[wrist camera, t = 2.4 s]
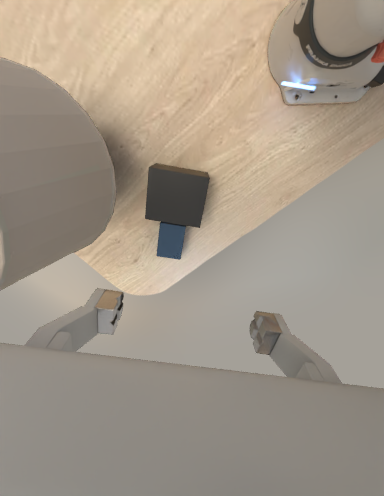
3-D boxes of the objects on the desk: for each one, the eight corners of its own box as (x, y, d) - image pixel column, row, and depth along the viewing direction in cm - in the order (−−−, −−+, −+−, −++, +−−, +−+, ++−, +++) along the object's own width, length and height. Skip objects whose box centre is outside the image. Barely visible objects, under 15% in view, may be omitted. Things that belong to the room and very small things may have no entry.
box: (186, 219, 56) (185, 226, 51) (181, 249, 60) (180, 259, 55) (163, 215, 56) (160, 222, 51) (159, 246, 60) (156, 256, 55)
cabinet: (207, 172, 51) (209, 178, 43) (199, 216, 56) (199, 227, 48) (155, 163, 50) (148, 167, 42) (151, 208, 55) (145, 218, 47)
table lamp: (58, 57, 42) (-785, -461, 6) (168, 155, 49) (98, 192, 13) (10, 169, 51) (-424, 234, 15) (108, 236, 59) (-26, 385, 23)
